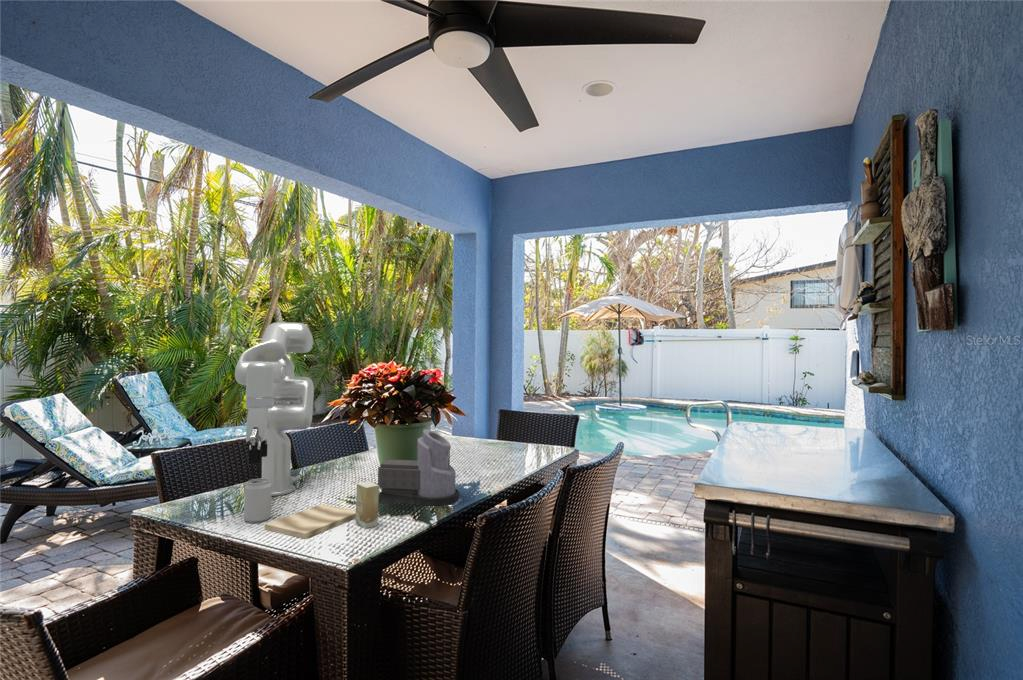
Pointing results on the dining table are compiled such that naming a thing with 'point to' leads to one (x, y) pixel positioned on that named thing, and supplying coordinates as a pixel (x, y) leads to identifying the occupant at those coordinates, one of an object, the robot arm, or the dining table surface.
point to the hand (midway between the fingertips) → (258, 459)
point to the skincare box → (367, 504)
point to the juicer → (420, 475)
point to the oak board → (311, 521)
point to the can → (257, 500)
